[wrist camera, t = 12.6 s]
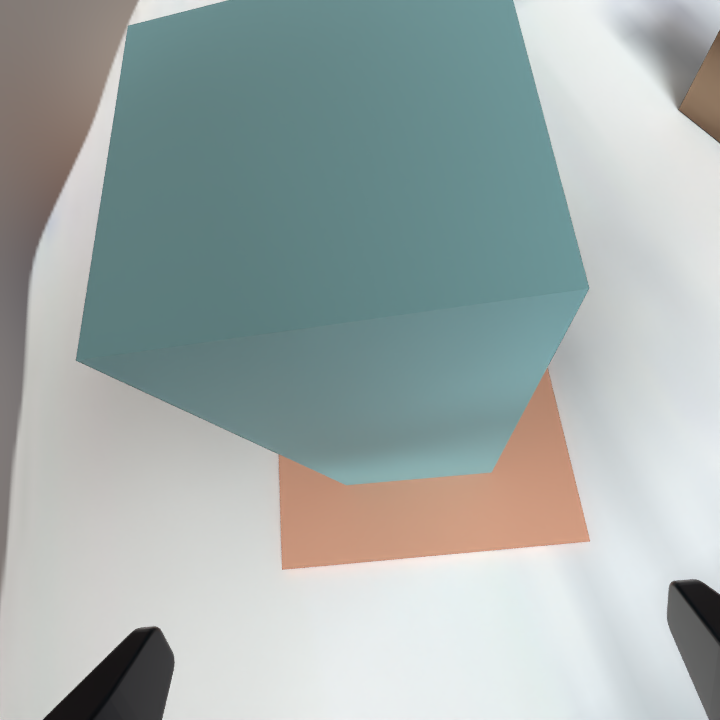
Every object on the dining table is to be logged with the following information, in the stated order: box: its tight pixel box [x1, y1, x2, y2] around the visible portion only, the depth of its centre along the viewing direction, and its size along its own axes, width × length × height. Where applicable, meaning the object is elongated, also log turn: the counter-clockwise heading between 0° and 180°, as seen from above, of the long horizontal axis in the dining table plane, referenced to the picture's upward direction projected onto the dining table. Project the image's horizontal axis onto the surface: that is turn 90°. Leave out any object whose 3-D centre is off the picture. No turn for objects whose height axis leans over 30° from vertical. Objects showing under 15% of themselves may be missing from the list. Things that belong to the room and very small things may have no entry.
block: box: [76, 0, 589, 485], centre depth 11 cm, size 5×5×13 cm
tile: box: [279, 368, 590, 570], centre depth 18 cm, size 10×10×1 cm
